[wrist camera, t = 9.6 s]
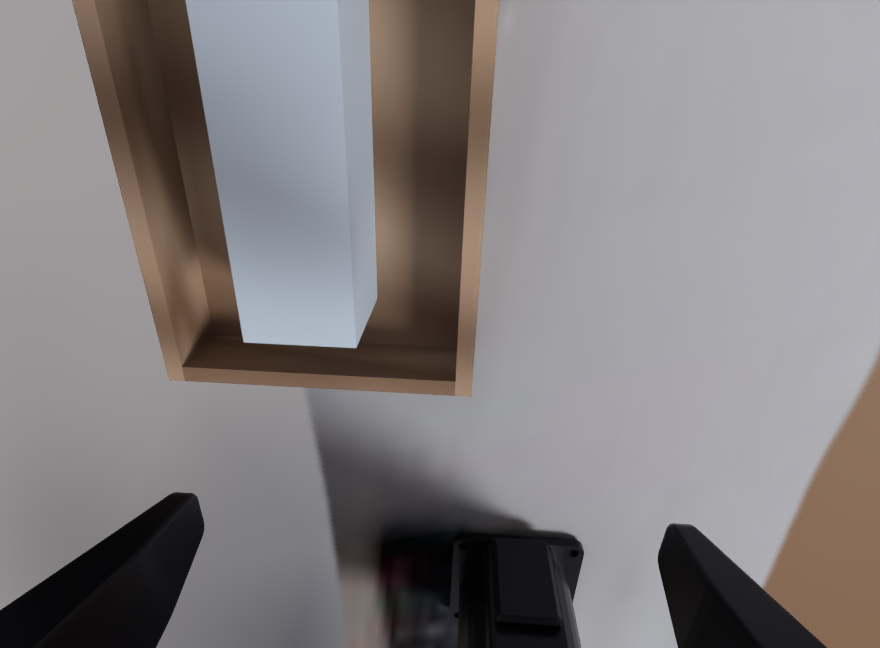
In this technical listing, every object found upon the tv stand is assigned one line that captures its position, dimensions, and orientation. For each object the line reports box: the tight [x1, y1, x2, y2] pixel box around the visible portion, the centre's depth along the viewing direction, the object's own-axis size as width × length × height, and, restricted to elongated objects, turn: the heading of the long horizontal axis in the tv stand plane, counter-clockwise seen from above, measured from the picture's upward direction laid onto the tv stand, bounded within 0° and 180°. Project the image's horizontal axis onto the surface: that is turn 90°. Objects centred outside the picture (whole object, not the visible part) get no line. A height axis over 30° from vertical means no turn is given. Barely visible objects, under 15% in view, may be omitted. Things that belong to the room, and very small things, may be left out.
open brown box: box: [72, 0, 499, 397], centre depth 15 cm, size 17×11×3 cm, turn 178°
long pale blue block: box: [186, 0, 377, 348], centre depth 14 cm, size 13×4×4 cm, turn 178°
